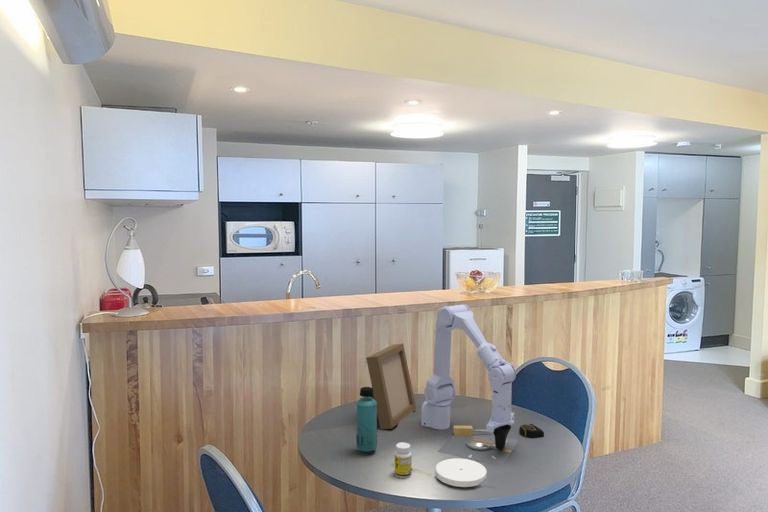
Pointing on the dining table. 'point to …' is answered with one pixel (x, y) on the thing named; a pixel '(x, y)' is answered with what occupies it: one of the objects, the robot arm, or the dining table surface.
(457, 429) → the screwdriver
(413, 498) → the dining table surface
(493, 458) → the panel
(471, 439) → the silver rounded piece
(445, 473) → the plastic lid
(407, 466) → the supplement bottle
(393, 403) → the photo frame
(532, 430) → the tape measure
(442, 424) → the robot arm
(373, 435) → the beverage bottle
